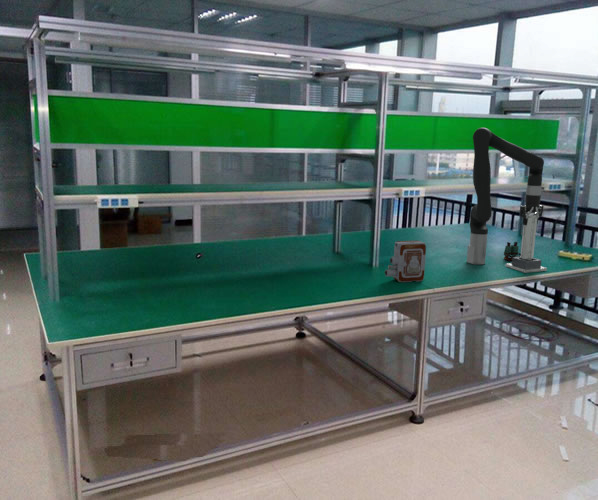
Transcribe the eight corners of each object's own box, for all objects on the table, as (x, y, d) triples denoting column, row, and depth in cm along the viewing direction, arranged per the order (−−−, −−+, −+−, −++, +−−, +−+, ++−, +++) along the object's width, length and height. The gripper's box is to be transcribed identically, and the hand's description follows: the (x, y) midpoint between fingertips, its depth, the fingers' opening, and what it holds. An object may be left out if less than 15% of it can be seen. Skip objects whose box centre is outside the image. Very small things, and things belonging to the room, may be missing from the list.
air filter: (519, 260, 303) (524, 215, 297) (520, 258, 308) (525, 213, 303) (532, 261, 300) (537, 216, 294) (533, 259, 305) (538, 214, 300)
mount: (524, 272, 295) (525, 262, 294) (505, 266, 309) (506, 256, 308) (546, 270, 301) (547, 260, 300) (526, 264, 314) (527, 254, 313)
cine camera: (381, 279, 279) (383, 240, 275) (417, 277, 283) (419, 238, 279) (388, 283, 270) (390, 243, 266) (425, 282, 274) (428, 242, 270)
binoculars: (513, 246, 316) (503, 241, 325) (510, 263, 319) (500, 258, 328) (527, 245, 317) (517, 240, 327) (524, 263, 321) (514, 257, 330)
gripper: (527, 195, 290) (524, 226, 294) (549, 194, 295) (545, 225, 299) (517, 193, 297) (514, 224, 301) (538, 192, 302) (535, 223, 306)
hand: (530, 224), depth 300 cm, fingers closed on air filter, 6 cm apart
